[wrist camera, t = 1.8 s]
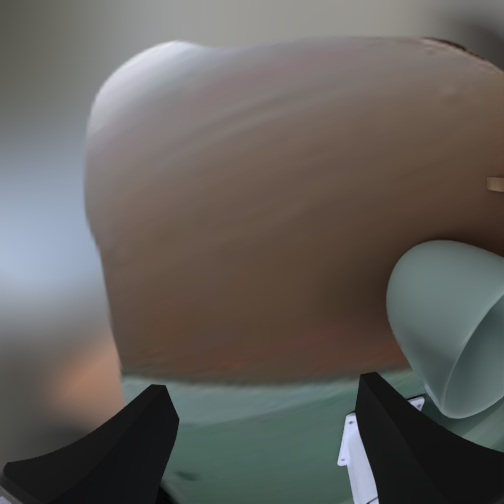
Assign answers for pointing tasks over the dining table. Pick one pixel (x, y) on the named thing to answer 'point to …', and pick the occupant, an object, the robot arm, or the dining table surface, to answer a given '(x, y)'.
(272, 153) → the dining table surface
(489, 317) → the cup
